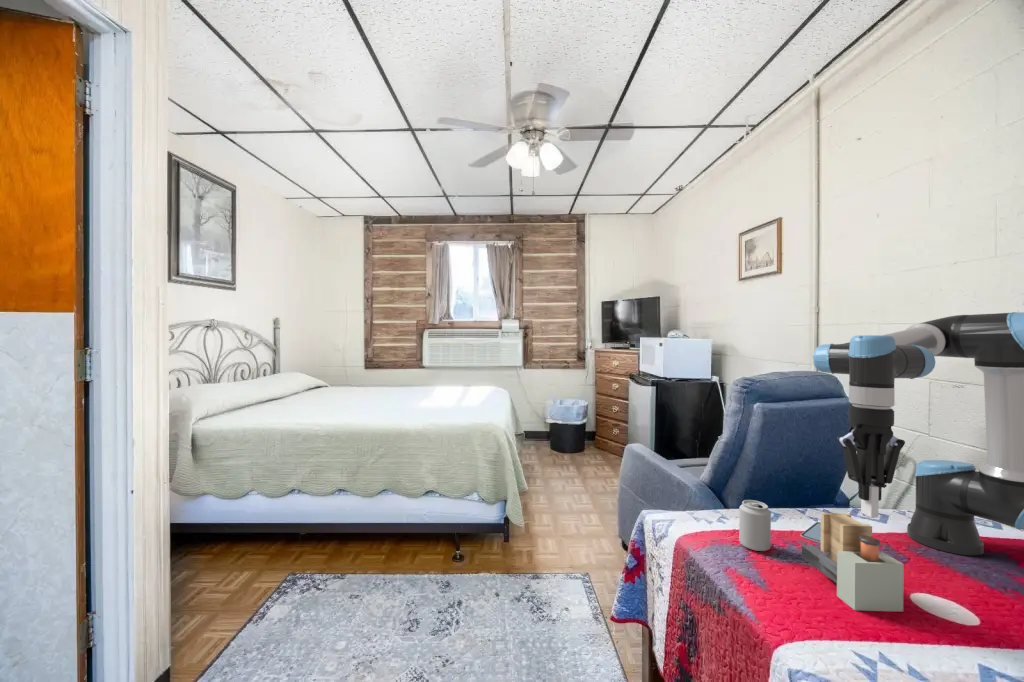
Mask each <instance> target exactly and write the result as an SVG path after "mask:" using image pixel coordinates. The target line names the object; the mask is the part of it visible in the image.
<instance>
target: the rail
mask: <svg viewBox="0 0 1024 682" xmlns="http://www.w3.org/2000/svg"><path fill="white" fill-rule="evenodd" d="M819 554H825V552H823V551H821V549H818V548H817V546H815V545H801V558H802V557H803V558H802V559H804V560H805V561H807V563H809V564H810V565H812V566H813V567H814V568H816V569H817V570H818V571H819V572H820V573H822V564H821V563H819ZM822 574H824V573H822ZM824 576H826V575H825V574H824ZM826 577H827V578H828V579H830V578H829V577H828V576H826ZM830 580H831V581H832V582H834V581H833V580H832V579H830ZM835 584H836V585H837V583H835Z"/></svg>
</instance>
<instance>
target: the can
mask: <svg viewBox="0 0 1024 682" xmlns="http://www.w3.org/2000/svg"><path fill="white" fill-rule="evenodd" d="M738 513H739V514H738V515H739V516H738V517H739V520H738V521H739V523H738V526H739V527H738V528H739V530H738V533H739V534H738V535H739V537H738V542H739V543H740V544H741V546H742V547H744V546H745V547H747V548H749V549H752V550H756V551H765V552H767V551H768V550H770V549H771V541H772V540H771V539H772V538H771V536H772V535H771V534H772V532H771V531H772V529H771V527H772V526H771V524H772V520H771V518H772V511H771V510H770V509H769V506H768V505H767V504H766V503H764V502H762V501H759V500H755V499H754V500H753V499H744V500H743V501H742V502H741V505H740V506H739V512H738ZM745 547H744V548H745ZM747 548H746V549H747ZM749 549H748V550H749ZM752 550H751V551H752ZM766 550H767V551H766Z"/></svg>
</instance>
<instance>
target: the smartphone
mask: <svg viewBox="0 0 1024 682" xmlns="http://www.w3.org/2000/svg"><path fill="white" fill-rule="evenodd" d="M800 537H802V538H804V539H806V540H810V541H813V542H814V543H815V542H816V543H818V544H821V521H817V522H814V524H811V526H809V527H808V528H807V529H805V530H804V531H803V532H802V533H800Z"/></svg>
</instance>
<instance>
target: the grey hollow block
mask: <svg viewBox="0 0 1024 682" xmlns="http://www.w3.org/2000/svg"><path fill="white" fill-rule="evenodd" d="M904 567H905V565H904V563H903V562H901V561H899V560H897V559H895V558H894V557H893V556H890V555H889V554H887V553H885V552H884V551H879V560H878V561H871V560H867V559H865V558H863V557H861V555H860V552H854V551H837V584H836V597H837V598H839V599H840V600H841V601H842V602H844V604H846V605H847V606H849V607H850V608H851V609H852V610H854V611H861V612H862V611H865V612H866V611H867V612H872V611H873V612H897V613H898V612H899V613H900V612H902V613H903V612H904V572H905V571H904V570H905V569H904Z"/></svg>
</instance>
